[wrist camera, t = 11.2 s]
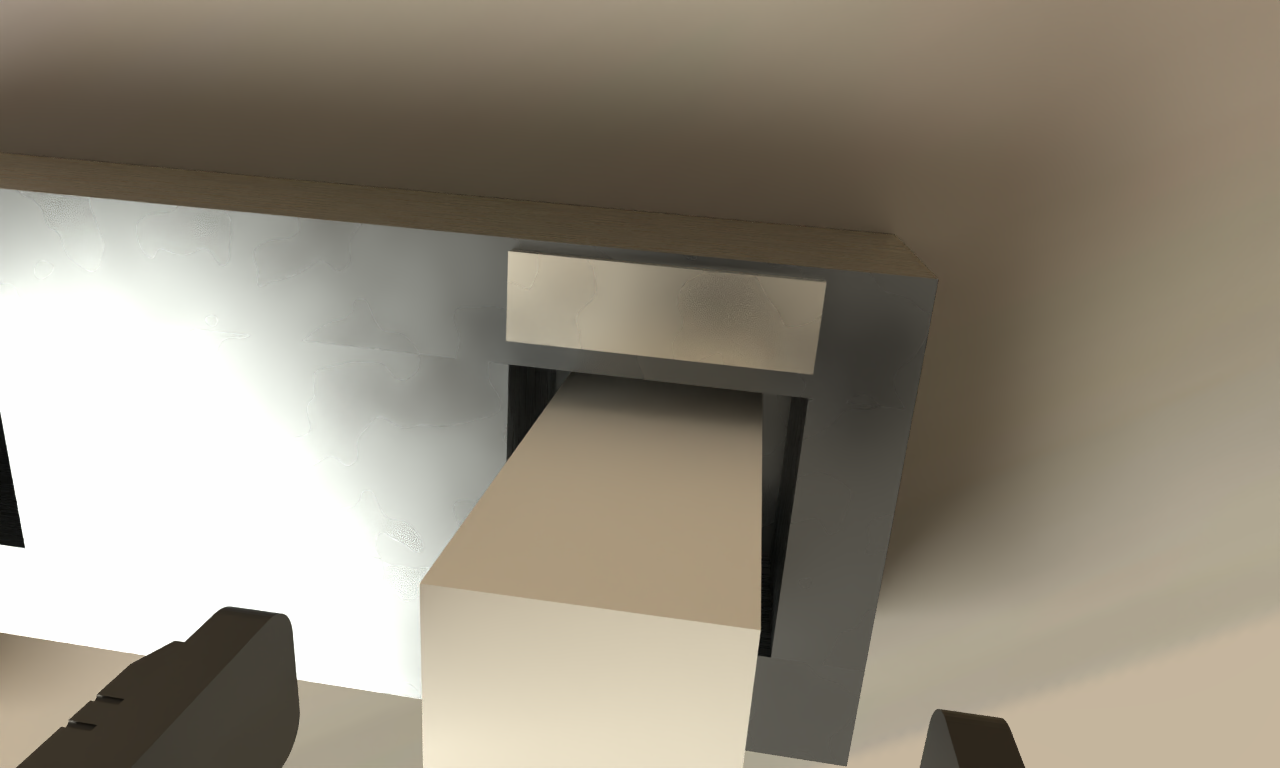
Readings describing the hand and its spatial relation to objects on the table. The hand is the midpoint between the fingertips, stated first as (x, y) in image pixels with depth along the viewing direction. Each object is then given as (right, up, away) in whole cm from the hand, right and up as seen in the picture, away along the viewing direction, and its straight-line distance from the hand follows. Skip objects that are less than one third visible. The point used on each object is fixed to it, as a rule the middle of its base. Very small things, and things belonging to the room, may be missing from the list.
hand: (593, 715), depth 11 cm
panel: (-7, +4, +11) cm, 14 cm away
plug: (+1, +3, +9) cm, 10 cm away
